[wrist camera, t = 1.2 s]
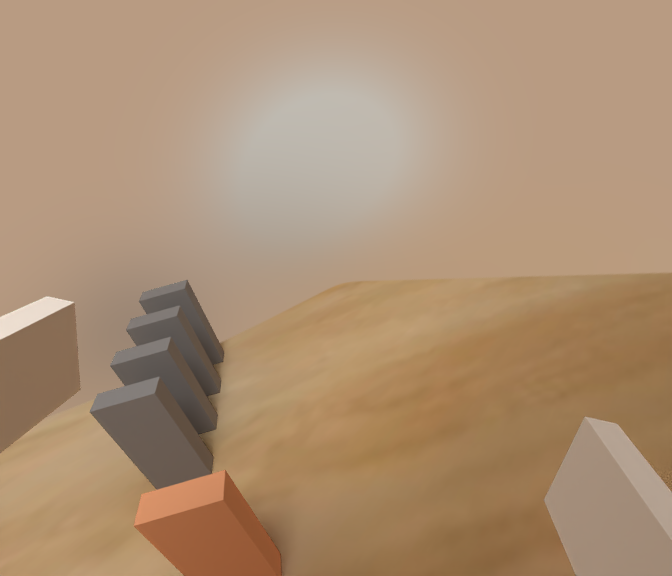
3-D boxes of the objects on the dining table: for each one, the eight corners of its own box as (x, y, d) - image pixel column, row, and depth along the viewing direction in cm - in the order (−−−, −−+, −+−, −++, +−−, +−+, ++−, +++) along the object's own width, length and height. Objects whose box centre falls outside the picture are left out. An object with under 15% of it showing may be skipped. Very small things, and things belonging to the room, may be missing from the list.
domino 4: (213, 457, 38) (159, 376, 32) (211, 474, 36) (154, 393, 30) (161, 472, 37) (97, 394, 31) (157, 490, 36) (89, 411, 30)
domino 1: (224, 351, 50) (187, 279, 44) (223, 361, 49) (184, 288, 43) (185, 362, 50) (142, 292, 44) (183, 373, 48) (138, 301, 42)
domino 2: (221, 380, 46) (180, 305, 40) (219, 392, 44) (177, 315, 38) (178, 392, 46) (131, 318, 40) (176, 404, 44) (126, 330, 38)
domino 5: (280, 553, 29) (225, 469, 23) (281, 581, 28) (223, 499, 22) (214, 573, 29) (141, 494, 23) (212, 602, 28) (133, 525, 22)
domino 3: (217, 415, 42) (171, 336, 36) (216, 429, 40) (167, 349, 34) (171, 428, 42) (116, 352, 36) (167, 443, 40) (110, 365, 34)
